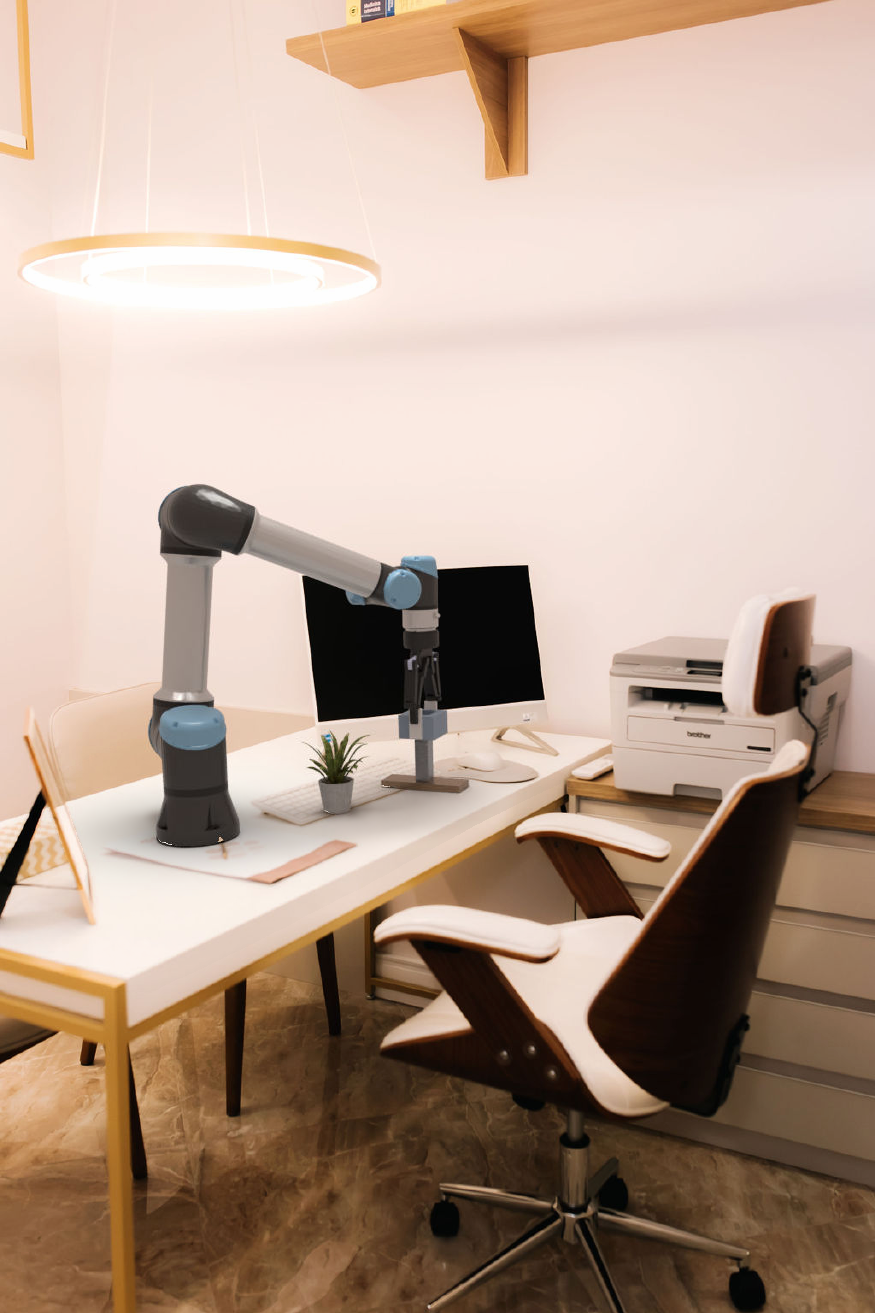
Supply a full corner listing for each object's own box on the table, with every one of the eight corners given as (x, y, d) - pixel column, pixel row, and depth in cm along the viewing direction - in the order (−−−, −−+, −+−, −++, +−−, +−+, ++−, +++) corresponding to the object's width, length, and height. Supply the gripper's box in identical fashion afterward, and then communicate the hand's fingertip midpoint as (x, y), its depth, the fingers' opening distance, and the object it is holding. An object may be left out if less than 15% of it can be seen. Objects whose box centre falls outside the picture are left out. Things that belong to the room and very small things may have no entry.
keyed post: (459, 793, 219) (458, 727, 217) (381, 787, 226) (379, 723, 224) (468, 786, 225) (467, 722, 223) (392, 780, 231) (390, 718, 229)
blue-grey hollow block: (434, 740, 219) (433, 717, 218) (399, 738, 221) (398, 715, 221) (447, 733, 226) (447, 710, 225) (413, 731, 229) (412, 708, 228)
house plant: (393, 807, 210) (391, 727, 207) (349, 824, 198) (347, 740, 196) (338, 798, 218) (335, 720, 215) (293, 814, 206) (290, 733, 204)
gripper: (418, 634, 210) (422, 745, 213) (454, 624, 229) (457, 726, 232) (384, 634, 212) (388, 743, 215) (422, 623, 232) (425, 724, 235)
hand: (423, 734), depth 224 cm, fingers closed on blue-grey hollow block, 8 cm apart
